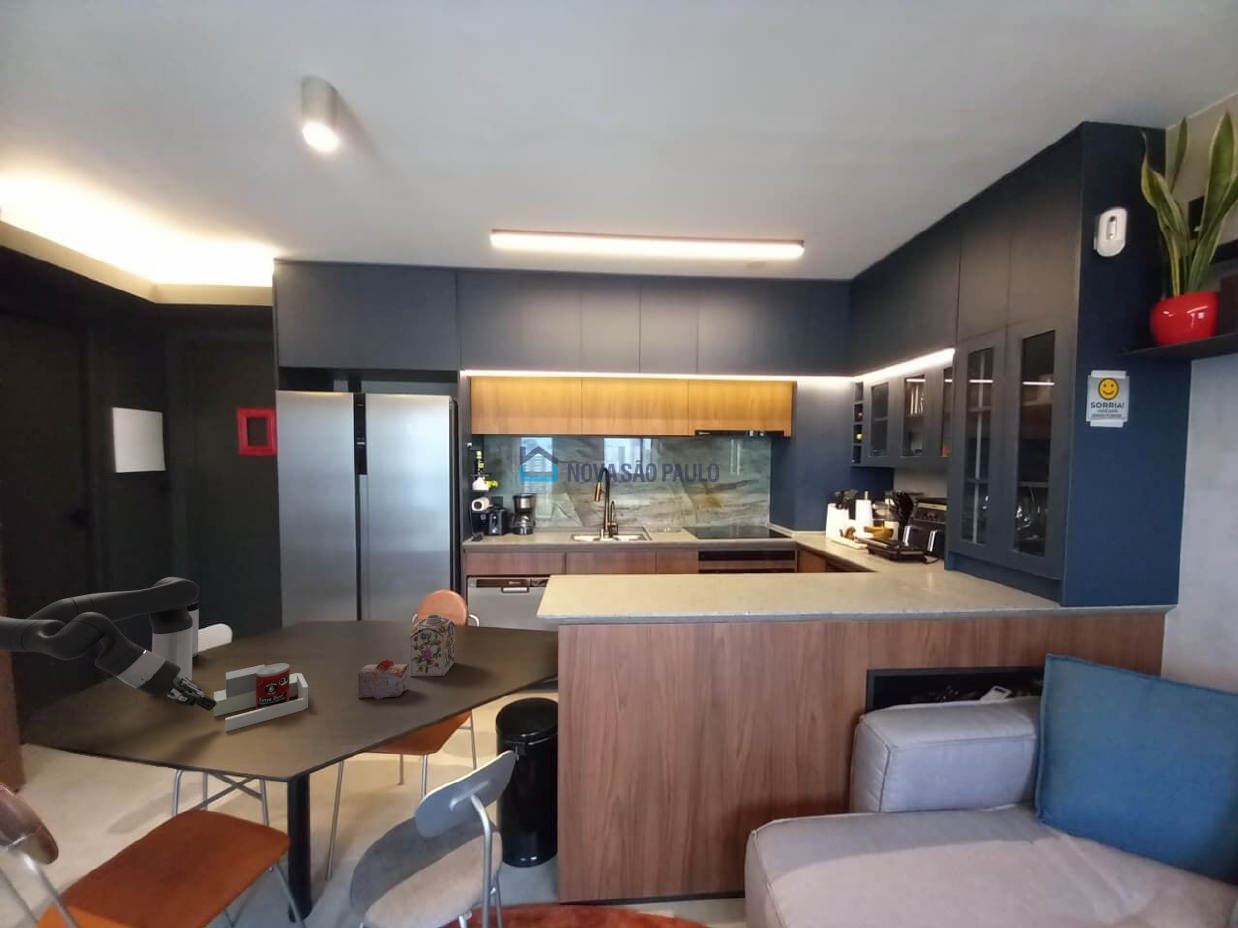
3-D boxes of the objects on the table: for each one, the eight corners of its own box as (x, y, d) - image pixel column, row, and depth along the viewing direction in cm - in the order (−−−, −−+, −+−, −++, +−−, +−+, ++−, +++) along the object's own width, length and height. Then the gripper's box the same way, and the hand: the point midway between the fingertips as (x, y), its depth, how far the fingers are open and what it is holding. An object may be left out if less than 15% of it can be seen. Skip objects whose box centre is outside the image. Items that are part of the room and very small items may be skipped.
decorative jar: (456, 662, 167) (456, 610, 167) (445, 676, 155) (445, 621, 155) (421, 662, 166) (422, 611, 167) (407, 677, 155) (408, 621, 155)
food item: (412, 687, 147) (412, 655, 148) (402, 699, 139) (402, 666, 140) (366, 689, 146) (366, 656, 146) (354, 701, 138) (354, 667, 139)
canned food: (253, 717, 129) (254, 676, 129) (258, 704, 136) (258, 666, 136) (287, 710, 133) (288, 670, 133) (290, 698, 140) (290, 660, 140)
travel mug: (195, 651, 176) (196, 597, 176) (199, 656, 172) (200, 600, 172) (172, 656, 171) (173, 601, 172) (176, 661, 167) (177, 604, 167)
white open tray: (215, 734, 121) (215, 698, 121) (213, 706, 135) (214, 674, 135) (308, 708, 134) (308, 676, 134) (297, 685, 148) (298, 656, 148)
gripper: (136, 677, 120) (199, 710, 128) (131, 695, 111) (200, 730, 118) (165, 651, 124) (225, 685, 132) (163, 666, 114) (228, 702, 122)
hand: (213, 706), depth 125 cm, fingers closed
